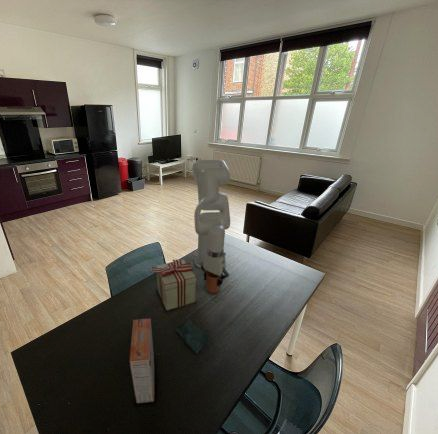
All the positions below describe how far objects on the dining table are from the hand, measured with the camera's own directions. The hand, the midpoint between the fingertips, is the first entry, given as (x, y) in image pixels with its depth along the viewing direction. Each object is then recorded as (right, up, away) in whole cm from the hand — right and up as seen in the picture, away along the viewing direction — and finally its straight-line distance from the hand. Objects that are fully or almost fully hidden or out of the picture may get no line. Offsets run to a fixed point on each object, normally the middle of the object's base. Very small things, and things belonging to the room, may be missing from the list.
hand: (212, 281), depth 118 cm
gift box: (-19, -6, -2) cm, 20 cm away
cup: (0, -4, +2) cm, 4 cm away
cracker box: (-28, -23, -38) cm, 52 cm away
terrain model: (-12, -16, -23) cm, 30 cm away
